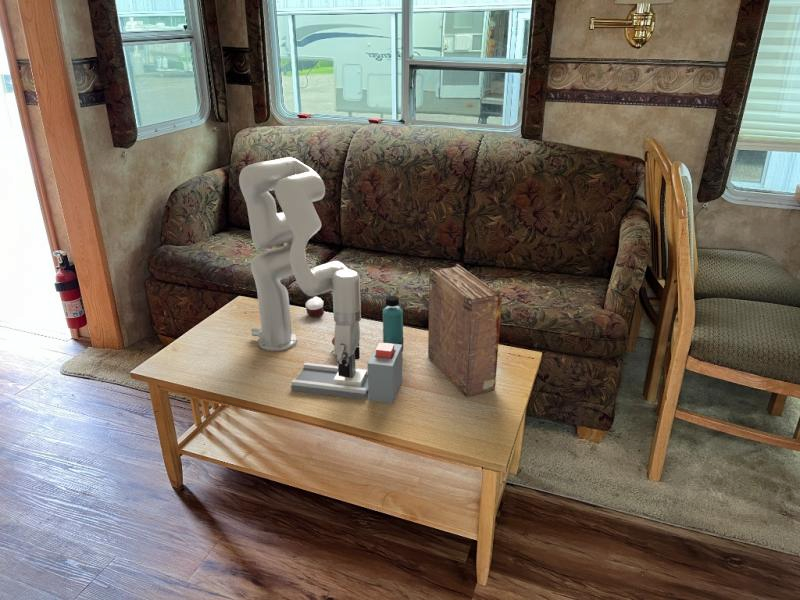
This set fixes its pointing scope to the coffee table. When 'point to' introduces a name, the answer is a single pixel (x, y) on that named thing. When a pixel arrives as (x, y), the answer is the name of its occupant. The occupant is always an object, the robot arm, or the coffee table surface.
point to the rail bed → (326, 382)
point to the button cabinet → (385, 376)
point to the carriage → (351, 375)
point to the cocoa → (314, 306)
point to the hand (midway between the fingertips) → (349, 367)
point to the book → (464, 328)
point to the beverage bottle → (393, 322)
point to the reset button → (385, 350)
